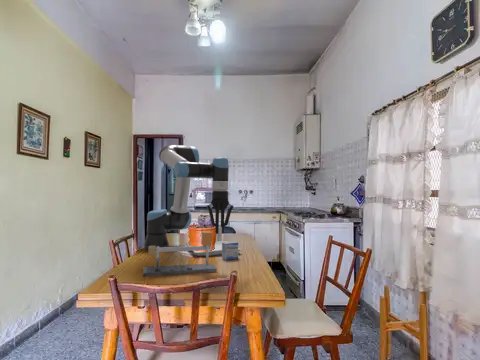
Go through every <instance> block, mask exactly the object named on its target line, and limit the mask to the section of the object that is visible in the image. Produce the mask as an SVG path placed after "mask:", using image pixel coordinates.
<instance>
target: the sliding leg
mask: <svg viewBox="0 0 480 360" xmlns="http://www.w3.org/2000/svg"><path fill="white" fill-rule="evenodd" d="M212 241H213V233H212V231H210V230H203V231H201V241H200V242H201V244H202V245H203V246H206V256H205V264H206V266H208V264H209V258H210V256H209V246H212Z"/></svg>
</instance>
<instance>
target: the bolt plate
mask: <svg viewBox="0 0 480 360" xmlns="http://www.w3.org/2000/svg"><path fill="white" fill-rule="evenodd" d="M217 269H218V268H217V267H216V266H215V264H214V263H212V262H211V263H209V262H208V266H206V263H195V264H175V265H159V268H158V269H157V268H156V265H155V266H153V265H152V266H144V267H143V271H142V273H143V274H142V277H156V276H159V277H160V276H172V275H173V276H174V275H176V276H177V275H187V274H188V275H189V274H191V273H192V274H205V273H218V272H217Z"/></svg>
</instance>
